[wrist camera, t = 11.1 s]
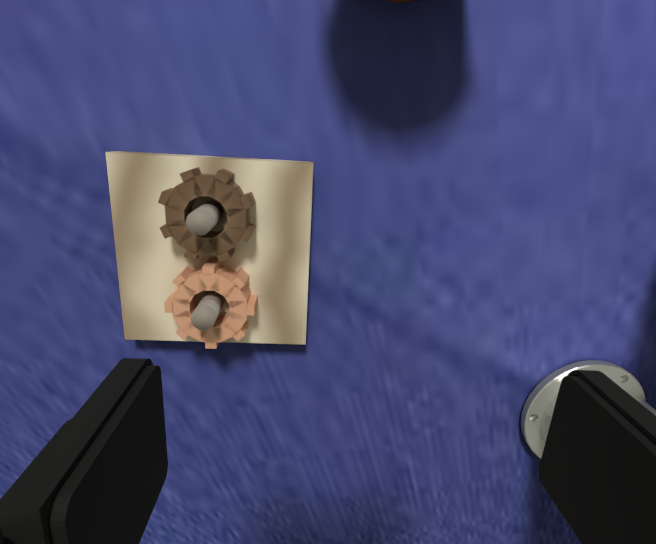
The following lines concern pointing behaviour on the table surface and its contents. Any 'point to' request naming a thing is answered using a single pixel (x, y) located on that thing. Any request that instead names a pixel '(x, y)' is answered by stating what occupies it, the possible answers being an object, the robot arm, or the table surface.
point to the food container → (400, 1)
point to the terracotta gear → (221, 282)
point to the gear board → (253, 256)
